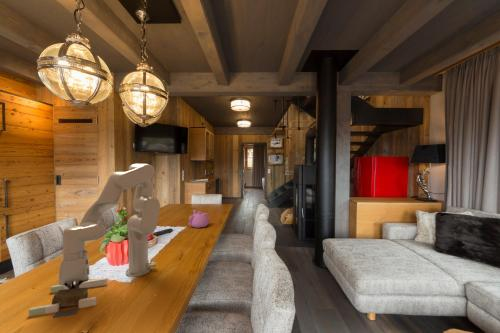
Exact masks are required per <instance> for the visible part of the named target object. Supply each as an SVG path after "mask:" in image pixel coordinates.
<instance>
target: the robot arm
mask: <svg viewBox="0 0 500 333" xmlns="http://www.w3.org/2000/svg"><path fill="white" fill-rule="evenodd" d="M155 172H156V171H155V167H154V166H153V165H152V164H149V163H133V164H131V165H129V166H128V170H127V171H115V172H113V173H111V174H110V175H109V177H108V178H107V181H106V183H105V184H104V187H103V188H102V191H101V192H100V194H99V197H98V198H97V200H96V201H94V203H93V204H92V205H91V206H90V207H89V208H88V209H87V211H86V212H85V214H84V215H83V217H82V219H81V222H80V223H79V225H72V226H69V227H65V228H64V230H63V231H62V259H61V261H60V265H59V271H58V285H65V286H67V287H68V289H75V288H79V285H80V284H81V283H83V282H86V281H88V280H90V275H89V274H90V263H89V262H90V261H89V258H88V257H89V256H88V254H89V250H86V246H85V243H86V242H92V241H98V240H100V239H102V238H103V237H104V236H106V234H107V227H106V225H104V224H102V223H99V222H100V219H101V218H102V216H103V215H104V214H105V213H107V211H108V210H110V209H112V208H114V207H115V206H117V205H118V203H119V201H120V199H121V197H122V194H123V192H124V190H131V189H132V188H135V192H134V197H133V201H132V202H133V203H132V207H133V210H134V211H135V212H138V213H141V214H137V213H136V214H133V215H131V216H130V217H129V218H128V220H127V222H126V230H127V235H128V268H127V269H126V270H125V275H126V276H127V275H128V276H127V277H129V276H134V277H133V278H137V277H141V276H144V275H146V274H148V273H150V271H151V269H152V268H155V267H157V262H155V261H152V262H150V260H149V254H148V253H149V250H148V249H149V238H148V236H150V235H152V234H153V233H154V232H155V231H156V229H157V226H158V222H159V215H160V211H161V210H160V209H161V204H160V201H159V199H158V198H157V197H155V196H152V195H153V182H152V178H153V177H154V176H155ZM87 256H88V257H87ZM74 282H76V283H75V285H74Z"/></svg>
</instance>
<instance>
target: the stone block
mask: <svg viewBox="0 0 500 333" xmlns="http://www.w3.org/2000/svg"><path fill="white" fill-rule="evenodd" d="M88 289H89V288H75V289H65V290H59V291H58V292H57V293H55V294H54V295H53V298H52V299H51V300H52V301H51V304H56V303H59V308H63V307H75V306H79V300H80V299H85V298H89V292H88V291H89V290H88Z"/></svg>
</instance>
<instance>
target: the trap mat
mask: <svg viewBox="0 0 500 333" xmlns="http://www.w3.org/2000/svg"><path fill="white" fill-rule="evenodd" d="M80 309H81V308H79V307H77V308H70V309H67V310H66V309H65V310H59V311H58V312H54V314H53V315H52V318H53V319H56V318H62V317H68V316H73V315H74V316H75V315H77V314H78V312H79V310H80Z"/></svg>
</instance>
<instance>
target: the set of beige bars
mask: <svg viewBox="0 0 500 333" xmlns="http://www.w3.org/2000/svg"><path fill="white" fill-rule="evenodd" d="M75 283H76V281H74V285H75ZM107 285H108V277H103V278H97V279H89V280H88V281H86V282H83V283H81V284H80V285H79V288H87V289H89V288H96V287H102V286H103V287H104V286H107ZM65 289H68V287H67V286H65V285H59V284H55V285H51V286H50V294H54V293H55V294H56V293H57V292H58V291H59V290H65ZM97 299H98V297H97V296H92V297H88V298H85V299H80V300H79V305H78V308H80V309H83V308H88V307H93V306H96V305H97V303H98V302H97V301H98V300H97ZM59 311H60V307H59V303H56V304H52V303H51V304H46V305H40V306H34V307H30V308H29V309H28V317H29V318H30V317H35V316H42V315H46V314H52V313H54V314H55V313H56V312H59Z"/></svg>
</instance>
